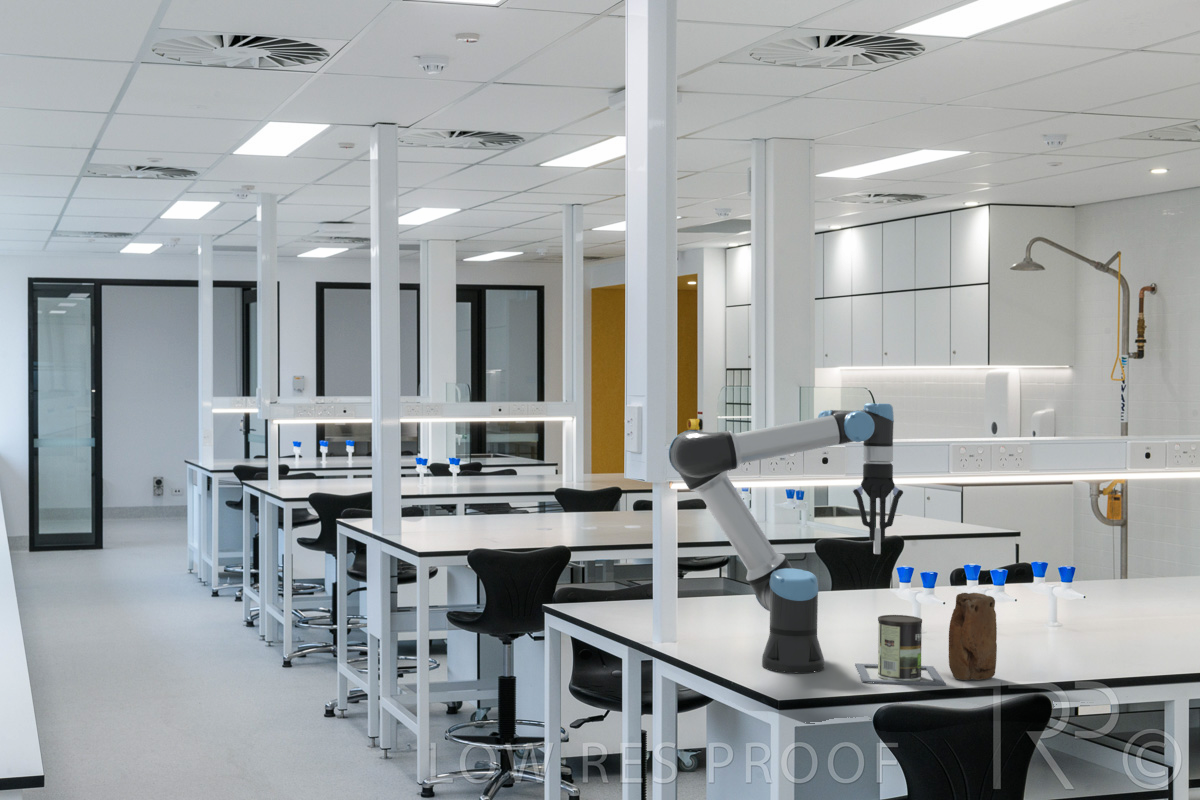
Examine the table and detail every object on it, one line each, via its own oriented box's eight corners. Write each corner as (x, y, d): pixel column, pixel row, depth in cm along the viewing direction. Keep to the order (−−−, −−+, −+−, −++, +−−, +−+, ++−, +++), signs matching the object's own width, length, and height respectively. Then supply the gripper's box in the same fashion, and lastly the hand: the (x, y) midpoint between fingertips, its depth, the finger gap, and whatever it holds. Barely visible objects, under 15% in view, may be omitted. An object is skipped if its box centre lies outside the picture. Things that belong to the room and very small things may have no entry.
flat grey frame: (862, 682, 283) (862, 680, 283) (855, 665, 302) (855, 663, 302) (946, 686, 281) (946, 683, 281) (933, 668, 300) (933, 666, 300)
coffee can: (922, 674, 293) (923, 616, 293) (920, 683, 283) (921, 623, 283) (879, 670, 296) (879, 613, 296) (875, 680, 286) (876, 620, 286)
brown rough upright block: (975, 672, 295) (976, 590, 295) (999, 679, 289) (1000, 595, 289) (943, 677, 290) (944, 593, 290) (967, 683, 283) (968, 598, 283)
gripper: (901, 462, 317) (900, 552, 317) (851, 461, 319) (850, 551, 319) (905, 463, 310) (904, 556, 310) (853, 462, 312) (852, 554, 312)
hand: (876, 553), depth 315 cm, fingers closed
